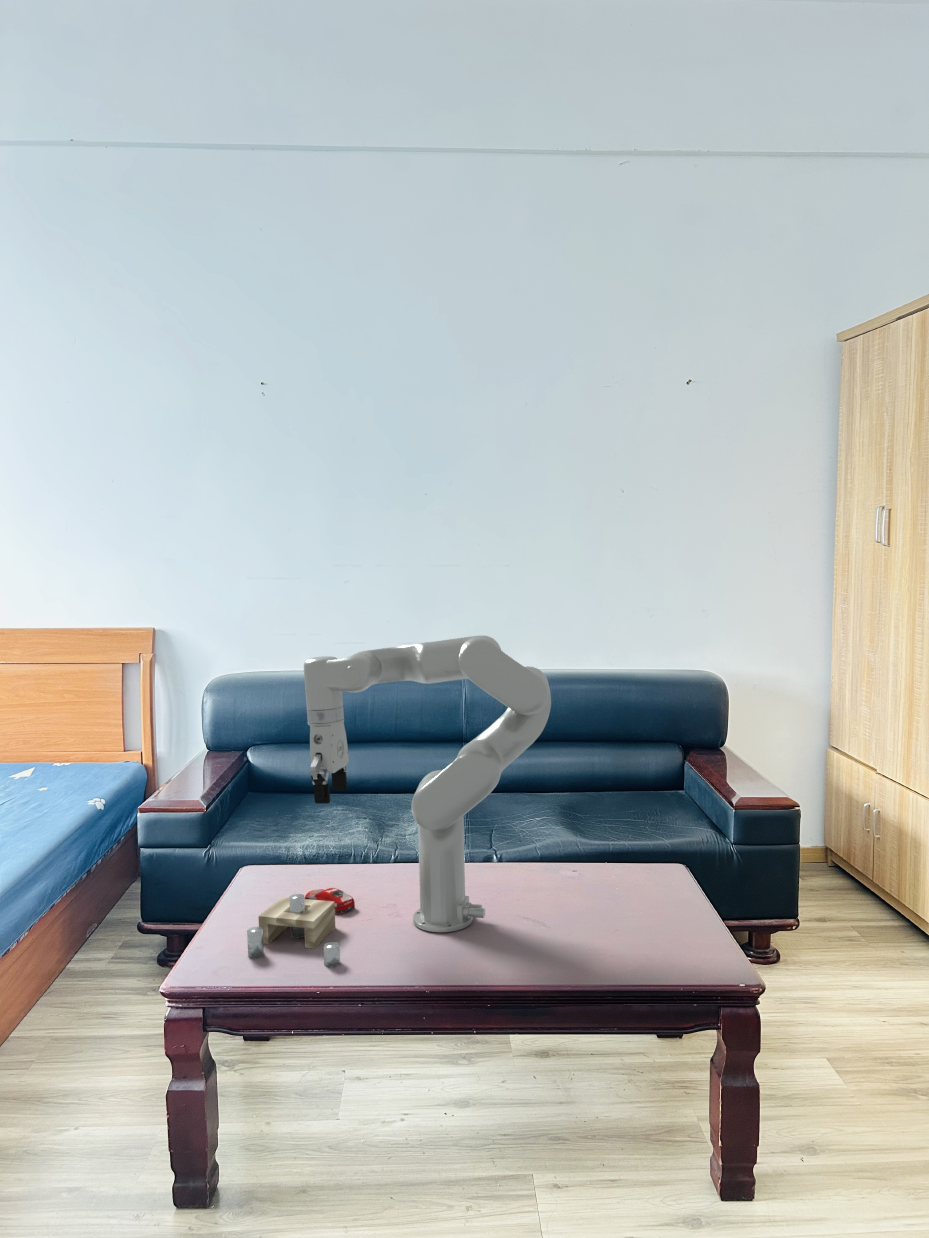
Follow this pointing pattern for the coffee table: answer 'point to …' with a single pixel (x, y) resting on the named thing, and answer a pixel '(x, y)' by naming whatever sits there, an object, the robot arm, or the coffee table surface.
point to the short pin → (331, 954)
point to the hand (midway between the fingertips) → (331, 796)
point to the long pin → (297, 907)
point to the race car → (333, 898)
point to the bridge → (299, 920)
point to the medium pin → (255, 942)
